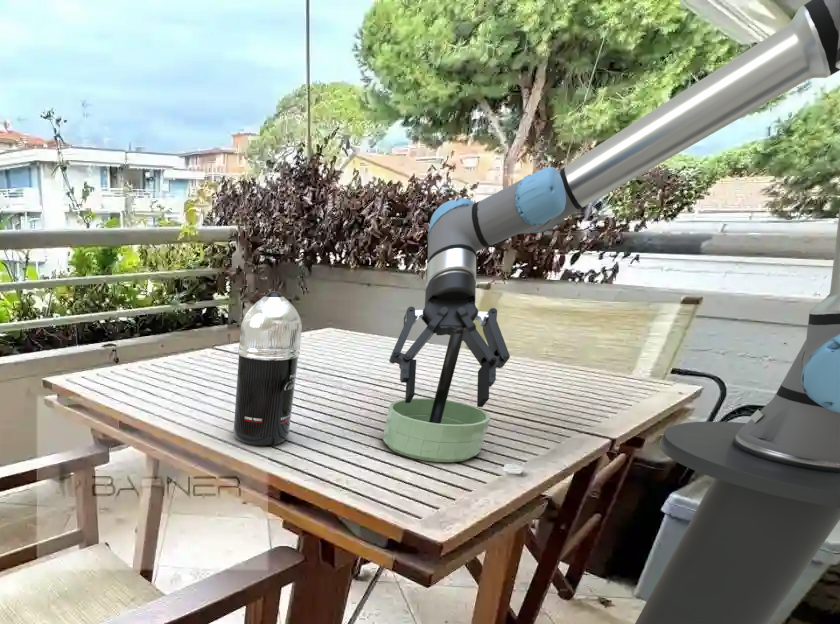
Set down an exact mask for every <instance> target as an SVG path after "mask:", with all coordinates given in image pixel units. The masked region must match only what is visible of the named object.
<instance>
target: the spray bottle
mask: <svg viewBox="0 0 840 624" xmlns="http://www.w3.org/2000/svg"><path fill="white" fill-rule="evenodd" d="M239 331H240V332H239V343H238V344H239V345H238V350H237V354H238V363H237V377H236V389H235V390H236V391H235V392H236V393H235V407H234V417H233V418H234V420H233V434H234V437H236V439H237V440H239V441H240V442H242V443H245V444H248V445H252V446H253V445H254V446H261V447H263V446H265V447H266V446H273V445H274V446H275V445H278V444H281V443H283V442H284V441H285V440H287V438H288V437H289V434H290V427H291V419H292V411H293V402H294V394H295V387H296V380H297V379H296V378H297V369H298V362H299V356H300V354H301V353H300V351H301V339H302V333H303V332H302V331H303V323H302V318H301V315H300V314H299V312H298V310H297V309H296V308H295V306H294V305H293V304H292V303H291V302H290V301H289V300H288V299H286V298H285V296H284V295H283V294H282V293H281V292H279V291H275V290H272V291H270V292H267V294H265V295H264V296H263V297H262V298H261V299H259V300H258V301H256V302H255V303H254V304H253V305H252V306H251V307H250V308H249V309H248V310H247V312H246V313H245V315H244V316H243V319H242V321H241V324H240V330H239Z"/></svg>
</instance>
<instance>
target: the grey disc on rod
mask: <svg viewBox="0 0 840 624" xmlns="http://www.w3.org/2000/svg"><path fill="white" fill-rule="evenodd" d="M463 335H464V329H463V328H462V327H455V328H454V329H453V330H452V332H451V335H449V336H450V337H449V339H448V344H447V348H446V352H445V356H444V359H443V364H442V368H441V372H440V376H439V380H438V383H437V387H436V391H435V395H434V398H433V399H434V403H433V407H432V411H431V415H430V419H429V422H431V423H439V424H441V420H442V416H443V412H444V408H445V404H446V401H447V400H448V397H449V393H450V389H451V385H452V381H453V378H454V377H453V376H454V373H455V370H456V366H457V361H458V358H459V355H460V350H461V347H462V344H463V343H462V342H463V341H462V339H463Z"/></svg>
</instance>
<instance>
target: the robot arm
mask: <svg viewBox="0 0 840 624" xmlns="http://www.w3.org/2000/svg"><path fill="white" fill-rule="evenodd" d="M838 72H840V0H809V1H808V2H806V3H804V4H803V5H801V6H800V7H799V8H798V10H797V11H796V13H795V14H794V16H793V17H792V19H791V21H790V22H789V23H788V24H786V25H785V26H783V27H781V28H780V29H779V30H777V31H776V32H774V33H772V34H771V35H769V36H768V37H766V38H764V39H763V40H762V41H759V42H758V43H757V44H755V45H754V46H752V47H750V48H749V49H746V51H744V52H743V53H740V54H739V55H737V56H736V57H735V58H733V59H732V60H730V61H728V62H727V63H725V64H724V65H722V66H721V67H719V68H717V69H716V70H714V71H712V72H711V73H709V74H708V75H706V76H704V77H703V78H702V79H700V80H699V81H697V82H695V83H694V84H692V85H690V86H689V87H687V88H686V89H684V90H682V91H681V92H679V93H678V94H676V95H675V96H673V97H672V98H669V100H667V101H665V102H664V103H662V104H661V105H659V106H658V107H656V108H654V109H652V110H651V111H650V112H648V113H647V114H645V115H643V116H642V117H640V118H639V119H636V121H634V122H632V123H631V124H630V125H628V126H626V127H625V128H623V129H622V130H620V131H618V132H617V133H615V134H614V135H611V136H610V137H609V138H607V139H606V140H604V141H603V142H601V143H599V144H598V145H596V146H594V147H593V148H592V149H590V150H589V151H586V152H585V153H583V154H582V155H580V156H579V157H577V158H576V159H574V160H573V161H571V162H570V163H568V164H566V165H565V166H564V167H562V168H561V169H557V168H556V167H553V166H549V167H545V168H543V169H541V170H539V171H537V172H534V173H532V174H527V175H526V176H524V177H523V178H522V179H519V180H518V181H516V182H514V183H513V184H510V185H508V186H506V187H504V188H502V189H500V190H499V191H497V192H494V193H492V194H491V195H488V196H487V197H485V198H484V199H482V200H481V199H480V200H479V201H477V202H475V201H473V200H471V199H470V198H465V197H461V198H458V199H451V200H448V201H445V202H444V203H443V204H441V205H440V206H438V207H437V208H436V209H435V211H434V212H433V213H432V215H431V217H430V221H429V226H428V227H429V228H428V233H427V237H426V238H427V263H426V276H425V277H426V279H425V293H424V308H423V309H416V308H415V307H414V306H408V307H407V309H406V310H405V314H404V317H403V327H402V329H401V331H400V334H399V336H398V338H397V341H396V343H395V345H394V347H393V350H392V352H391V354H390V357H389V360H388V361H389V363H390V364H392V365H393V364H397V365H398V368H399V369H400V374H399V381H400V383H402V384H403V383H404V384H405V397H404V399H405V403H410V402H411V400H412V399H413V398H414V396H415V390H416V376H417V375H416V373H417V359H415V358H416V356H417V355H418V353H419V352H420V351H421V350H422V349H423V347H424V346H425V345H426V344H427V343H428V341H430V340H431V338H432V337H433V336H434V334H436V336H450V335H451V332H452V330H453V329H454V328H455V327H462V328H463V329H464V335H463V339H462V342H464V343H465V345H466V346H467V348H468V349H469V351H470V352H471V354H472V355H473V356H474V358H475V359H476V361H477V362H478V364H479V365H480V368H479V369H478V371H477V393H476V395H477V396H476V398H477V399H476V402H477V403H476V407H477V408H484V406H485V404H486V403H487V402H488V401H489V400H490V388H491V387H493V385H494V384H495V383H496V380H497V368H498V369H502V368H503V367H505V365H506V364H507V362H508V361H509V359H510V358H511V355H510V352H509V350H508V347H507V343H506V342H505V339H504V337H503V334H502V331H501V328H500V326H499V323H498V319H497V318H498V310H497V308H495V307H491V308H490V309H489V310H488V311H487V310H486V311H484V310H479V309H478V307H477V306H476V297H477V296H476V295H477V293H476V289H477V288H476V287H477V283H476V280H477V254H478V252H479V251H482V250H484V249H486V248H487V249H488V248H489V247H492V246H493V245H496V244H498V243H500V242H502V241H505V240H507V239H510V238H512V237H514V236H517V235H522V234H541V233H545V232H547V231H550V230H551V229H553V228H555V227H557V226H558V225H560V223H562V222H563V221H564V220H565V219H566V218H568V217H570V216H571V215H573V214H575V213H576V212H579V211H580V210H582V209H583V208H584V207H587V206H588V205H590V204H592V203H593V202H595V201H597V200H599V199H601V198H602V197H604V196H606V195H608V194H610V193H611V192H613V191H614V190H616V189H618V188H620V187H621V186H624V185H625V184H626V183H627V184H628V183H629V182H630V181H633V180H634V179H635V178H637V177H640V176H641V175H643V174H644V173H646V172H648V171H650V170H652V169H653V168H656V167H657V166H659V165H660V164H662V163H664V162H666V161H667V160H669V159H671V158H672V157H675V156H676V155H678V154H680V153H682V152H683V151H685V150H686V149H689V148H690V147H692V146H694V145H695V144H697V143H699V142H701V141H702V140H705V139H706V138H708V137H710V136H711V135H713V134H715V133H717V132H718V131H720V130H722V129H723V128H725V127H727V126H728V125H731V124H733V123H734V122H736V121H737V120H739V119H741V118H743V117H745V116H746V115H748V114H750V113H752V112H754V111H755V110H757V109H759V108H760V107H762V106H764V105H766V104H768V103H769V102H771V101H773V100H775V99H776V98H778V97H780V96H782V95H783V94H785V93H787V92H789V91H790V90H792V89H794V88H796V87H797V86H799V85H801V84H803V83H804V82H806V81H808V80H810V79H827V78H828V77H831V76H832V75H835V74H836V73H838ZM420 319H421V320H422V321H423V323H424V324H425V325H426V327H425V329H424V330H423V331H422V332H421V333H420V335H418V337H417V338H416V340H415V341H414V342H413V343H412V345H411V346H410V347H409V348H408V350H406V352H405V353H404V352H402V351H403V347H404V346H405V343H406V341H407V339H408V336H409V334H410V332H411V329H412V327H413V326H414V325H415V324H417V323H418V321H419V320H420ZM475 320H476V321H478V323H479V327H482V332H483V336H484V338H483V336H482V335H481V334H480V333H479V331H478V330H477V325H476V324H475ZM749 417H750V419H749V420H748V421H747V422H745V423H746V424H745V425H744V426H743V427H742V428H741V429H740V430H739V431H738V432H737V434H736V436H735V438H734V440H733V441H732V444H733V446H734V447H736V448H737V449H739V450H740V451H742V452H745V453H747V454H749V455H752V456H755V457H758V458H761V459H764V460H767V461H771V462H775V463H779V464H783V465H787V466H792V467H797V468H802V469H808V470H814V471H822V472H830V473H840V209H839V212H838V220H837V229H836V237H835V246H834V254H833V263H832V271H831V281H830V290H829V294H828V295H827V296H826V297H825V298H823V299H822V300H821V301H820V302H818V303H817V304H816V305H814V306H813V307H812V308H811V309H809V314H808V323H807V330H806V339H805V341H804V343H803V344H802V346H801V348H800V350H799V352H798V354H797V355H796V357H795V359H794V361H793V362H792V364H791V366H790V368H789V369H788V371H787V373H786V375H785V376H784V378H783V380H782V382H781V384H780V385H779V388H778V389H777V391H776V393H775V395H774V396H773V398H772V399H771V400H770V401H769V402H767V404H766V405H764V406H763V407H762V409H760V410H759V409H757V410H755V411H754V413H753V414H752V415H750V416H749Z"/></svg>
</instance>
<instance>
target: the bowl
mask: <svg viewBox="0 0 840 624" xmlns="http://www.w3.org/2000/svg"><path fill="white" fill-rule="evenodd" d="M434 399H435V398H431V397H430V398H423V397H422V398H421V397H417V398H416V397H415V398H414V397H413V398H412V400H411V402H410V403H405V398H404V399H403V398H402V399H399V400H395V401H393V402H391V403H390V404H389V406H388V410H387V415H386V420H385V425H384V430H383V434H382V435H383V436H382V440H383V442H384V444H385V445H387V447H388V448H389V449H390V450H392V451H393V452H395V453H397V454H399V455H402V456H405V457H408V458H412V459H415V460H421V461H424V462H425V461H426V462H432V463H433V462H435V463H459V462H463V461H467V460H470V459H472V458H473V457H476V456H477V455H479V453H481V450H482V447H483V444H484V441H485V438H486V434H487V431H488V428H489V424H490V422H491V415H490V413H488V412H487V411H486V410H484V409H481V407H477V406H475V405H472V404H469V403H464V402H460V401H455V400H449V399H447V401H446V404H445V408H444V412H443V416H442V420H441V424H439V423H431V422H429V419H430V415H431V411H432V407H433V403H434Z"/></svg>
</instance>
